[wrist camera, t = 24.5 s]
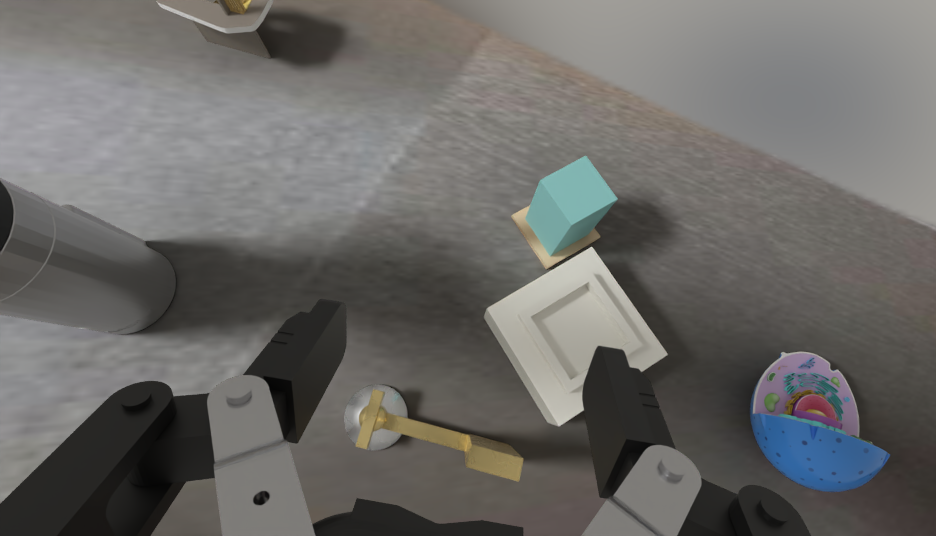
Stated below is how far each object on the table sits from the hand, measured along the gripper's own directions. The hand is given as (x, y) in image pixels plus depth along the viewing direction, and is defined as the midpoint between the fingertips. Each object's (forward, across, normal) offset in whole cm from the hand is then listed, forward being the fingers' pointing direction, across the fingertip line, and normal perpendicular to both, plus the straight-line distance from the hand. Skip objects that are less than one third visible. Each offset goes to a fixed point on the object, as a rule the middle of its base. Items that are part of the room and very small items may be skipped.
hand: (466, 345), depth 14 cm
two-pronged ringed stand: (+47, +33, -3) cm, 58 cm away
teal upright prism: (+34, -8, +9) cm, 36 cm away
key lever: (+17, +2, +25) cm, 31 cm away
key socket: (+18, +7, +25) cm, 32 cm away
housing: (+26, -10, +18) cm, 33 cm away
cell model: (+23, -32, +21) cm, 44 cm away
